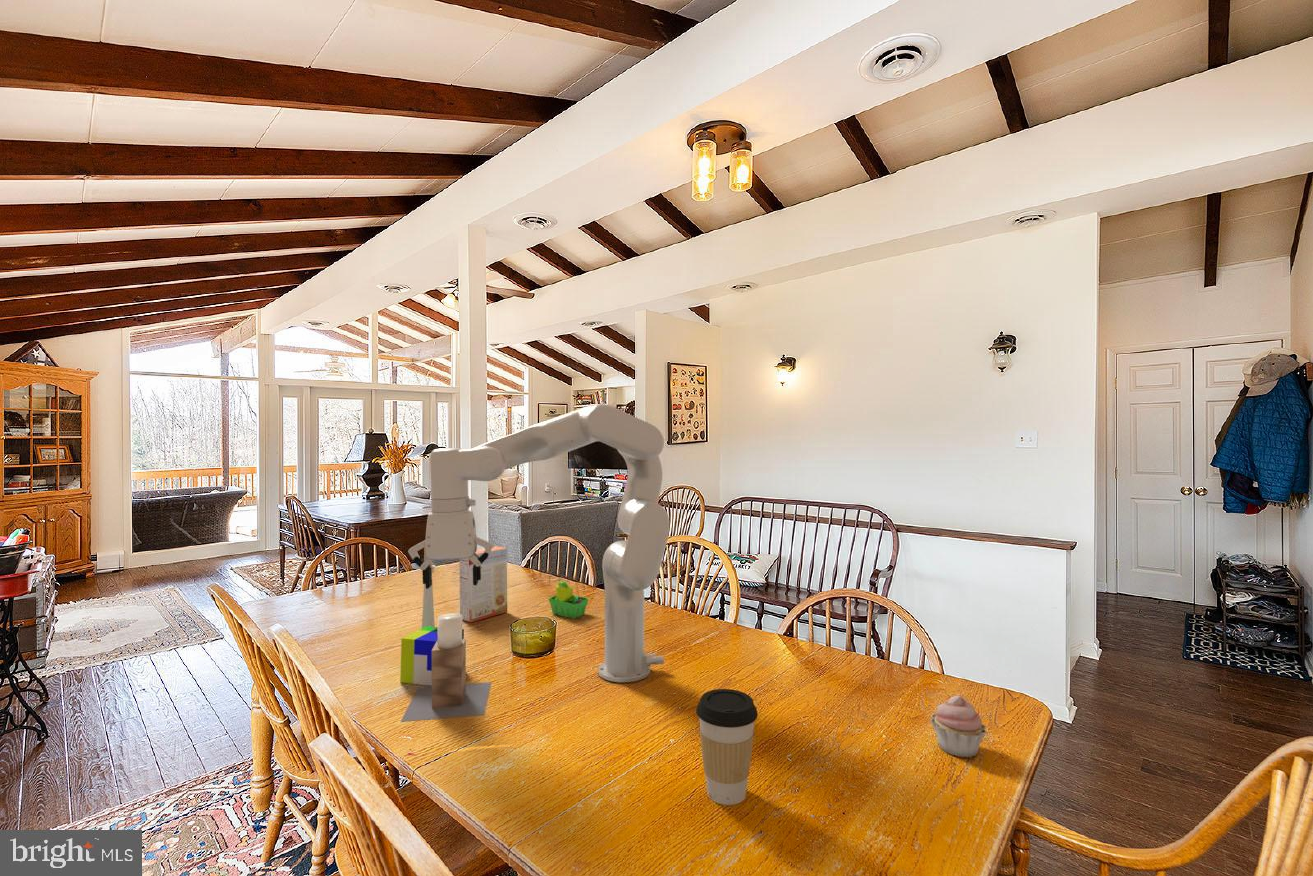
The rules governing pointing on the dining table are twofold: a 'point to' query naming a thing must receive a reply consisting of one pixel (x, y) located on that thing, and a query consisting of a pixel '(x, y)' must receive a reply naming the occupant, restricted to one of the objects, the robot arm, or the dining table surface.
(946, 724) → the cupcake
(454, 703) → the block
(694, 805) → the dining table surface
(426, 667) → the puzzle toy
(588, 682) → the dining table surface
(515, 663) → the dining table surface
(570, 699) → the dining table surface
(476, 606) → the cracker box
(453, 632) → the ceramic cylinder
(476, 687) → the mat
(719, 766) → the coffee cup
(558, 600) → the fruit basket
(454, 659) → the tower top
